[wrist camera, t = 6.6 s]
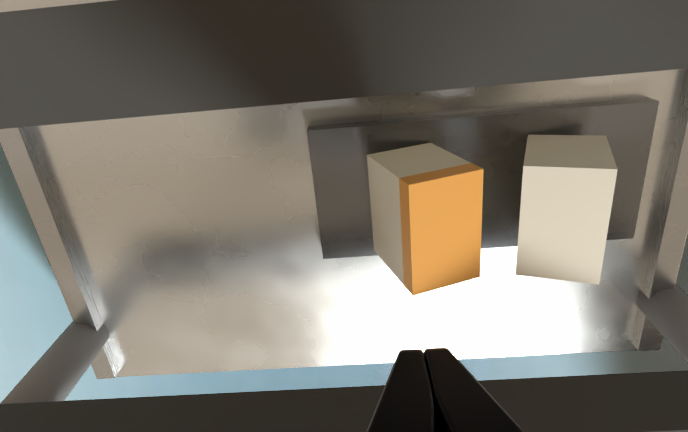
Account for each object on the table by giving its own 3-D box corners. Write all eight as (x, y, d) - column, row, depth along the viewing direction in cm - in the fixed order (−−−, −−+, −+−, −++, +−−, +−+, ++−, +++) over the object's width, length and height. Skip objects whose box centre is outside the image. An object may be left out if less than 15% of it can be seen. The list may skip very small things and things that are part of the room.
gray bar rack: (737, -55, 14) (1126, -106, 7) (657, 300, 20) (831, 477, 12) (-28, 25, 16) (-352, 49, 9) (93, 333, 21) (-44, 507, 14)
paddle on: (606, 135, 14) (617, 168, 12) (591, 235, 16) (599, 284, 13) (527, 134, 15) (523, 166, 13) (521, 229, 16) (515, 275, 14)
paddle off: (430, 142, 15) (483, 169, 13) (431, 235, 17) (480, 277, 14) (366, 154, 15) (408, 185, 12) (374, 250, 16) (412, 296, 13)
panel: (739, -112, 14) (791, -127, 12) (644, 329, 20) (669, 358, 19) (-39, -26, 15) (-87, -28, 14) (109, 359, 22) (89, 387, 20)
